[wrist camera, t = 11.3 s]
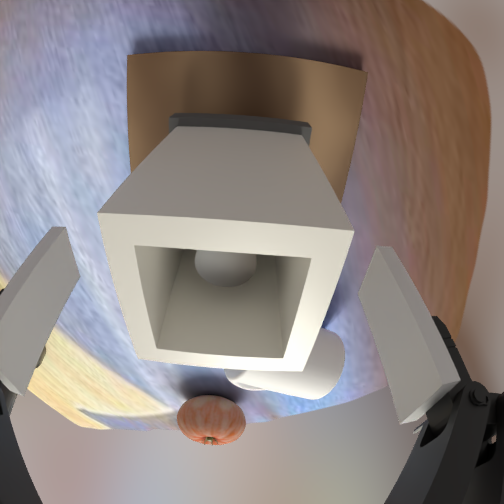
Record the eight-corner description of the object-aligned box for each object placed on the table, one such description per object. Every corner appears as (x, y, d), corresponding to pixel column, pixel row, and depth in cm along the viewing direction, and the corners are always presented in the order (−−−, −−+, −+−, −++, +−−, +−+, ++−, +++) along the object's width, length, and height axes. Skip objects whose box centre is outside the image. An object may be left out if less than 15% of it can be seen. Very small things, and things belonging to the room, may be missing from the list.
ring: (177, 224, 21) (172, 235, 20) (175, 112, 16) (168, 117, 15) (289, 232, 21) (291, 244, 20) (307, 122, 17) (312, 127, 15)
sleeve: (179, 230, 20) (138, 358, 12) (177, 126, 15) (97, 212, 7) (284, 237, 20) (302, 371, 12) (301, 134, 16) (354, 231, 8)
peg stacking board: (144, 241, 26) (95, 353, 16) (133, 54, 16) (19, 69, 6) (322, 254, 27) (352, 372, 17) (362, 71, 17) (469, 99, 7)
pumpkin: (259, 403, 45) (260, 446, 39) (213, 416, 49) (210, 454, 43) (212, 378, 40) (208, 428, 34) (167, 395, 44) (160, 437, 38)
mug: (262, 286, 29) (263, 354, 23) (338, 318, 32) (352, 379, 26) (210, 347, 35) (204, 405, 29) (278, 368, 38) (281, 421, 32)
